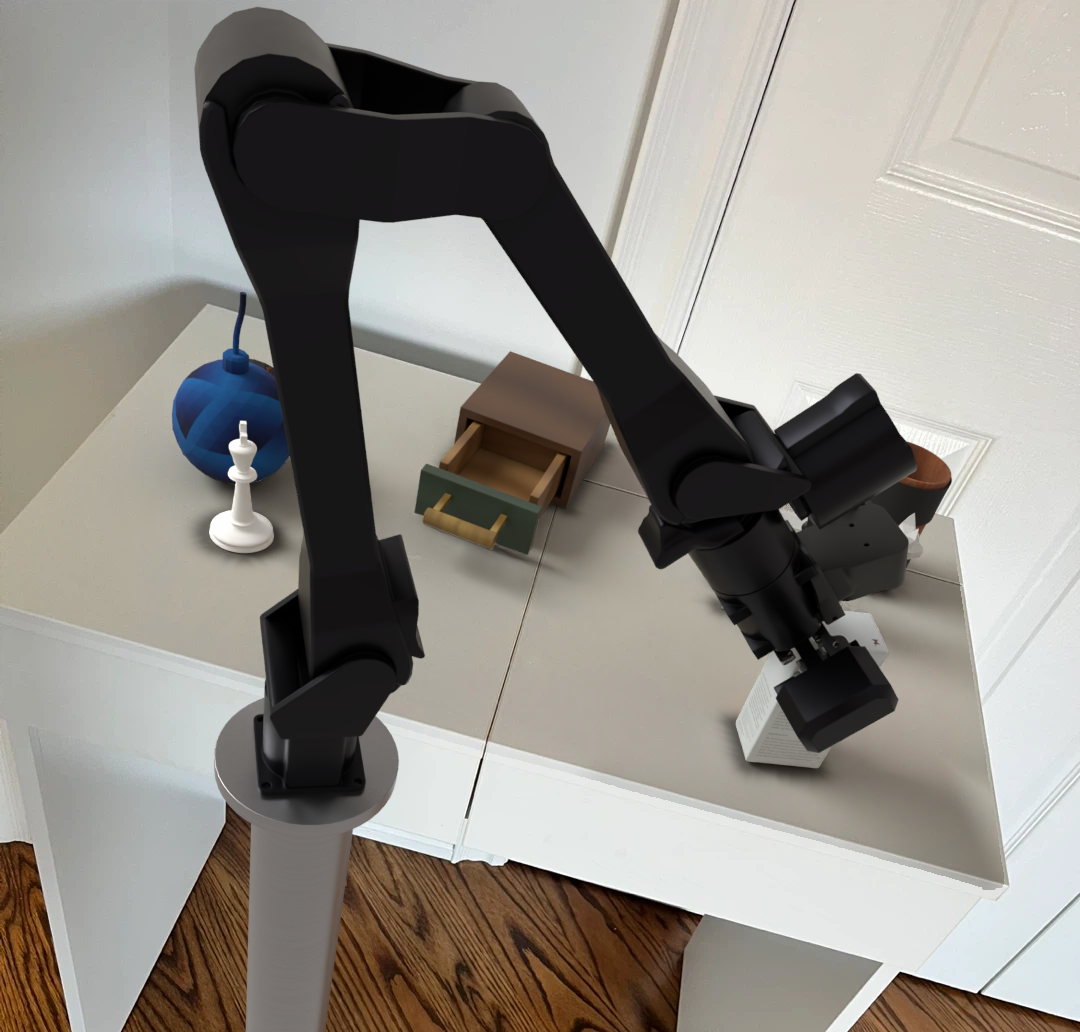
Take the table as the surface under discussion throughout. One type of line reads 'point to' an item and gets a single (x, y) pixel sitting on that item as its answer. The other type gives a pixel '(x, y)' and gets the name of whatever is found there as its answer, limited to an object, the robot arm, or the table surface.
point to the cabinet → (542, 413)
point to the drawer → (491, 488)
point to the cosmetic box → (762, 715)
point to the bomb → (230, 412)
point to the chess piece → (242, 505)
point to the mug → (917, 490)
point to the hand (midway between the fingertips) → (826, 684)
